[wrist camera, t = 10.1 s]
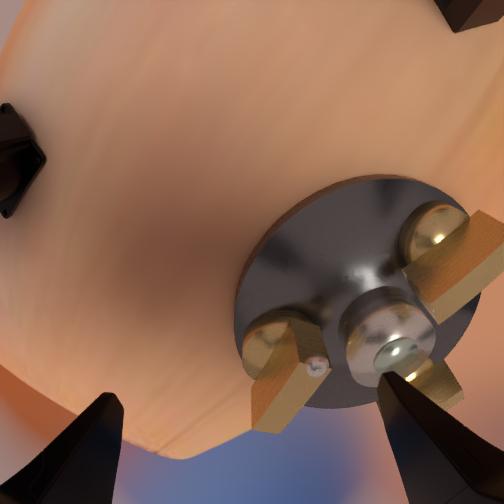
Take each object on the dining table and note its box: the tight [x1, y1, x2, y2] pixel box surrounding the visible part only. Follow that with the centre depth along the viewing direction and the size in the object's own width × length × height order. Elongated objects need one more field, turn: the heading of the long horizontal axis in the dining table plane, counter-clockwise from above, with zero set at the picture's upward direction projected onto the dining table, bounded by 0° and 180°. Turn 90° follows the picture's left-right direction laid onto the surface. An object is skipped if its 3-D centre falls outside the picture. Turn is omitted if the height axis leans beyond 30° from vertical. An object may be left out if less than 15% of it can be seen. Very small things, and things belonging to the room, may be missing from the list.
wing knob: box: [242, 310, 332, 434], centre depth 17 cm, size 7×5×6 cm
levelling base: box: [234, 175, 504, 418], centre depth 18 cm, size 20×20×7 cm
